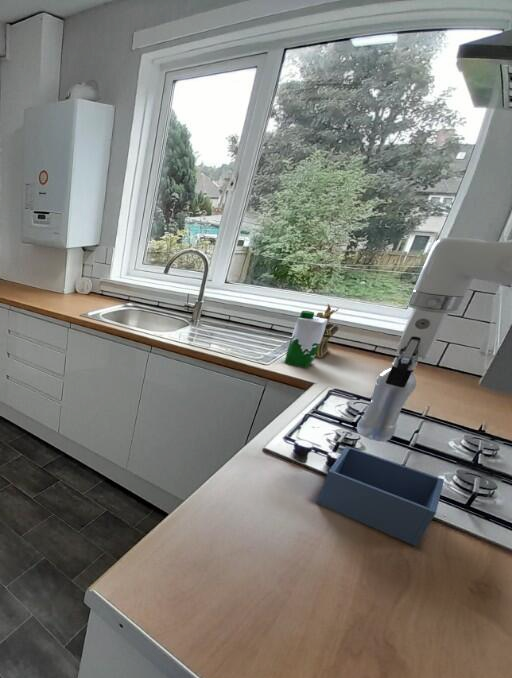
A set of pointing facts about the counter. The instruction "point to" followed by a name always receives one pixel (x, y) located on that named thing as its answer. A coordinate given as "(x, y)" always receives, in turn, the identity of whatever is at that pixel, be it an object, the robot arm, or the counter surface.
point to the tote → (382, 494)
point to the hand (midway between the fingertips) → (397, 380)
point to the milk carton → (305, 339)
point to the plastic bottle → (385, 407)
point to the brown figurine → (326, 331)
